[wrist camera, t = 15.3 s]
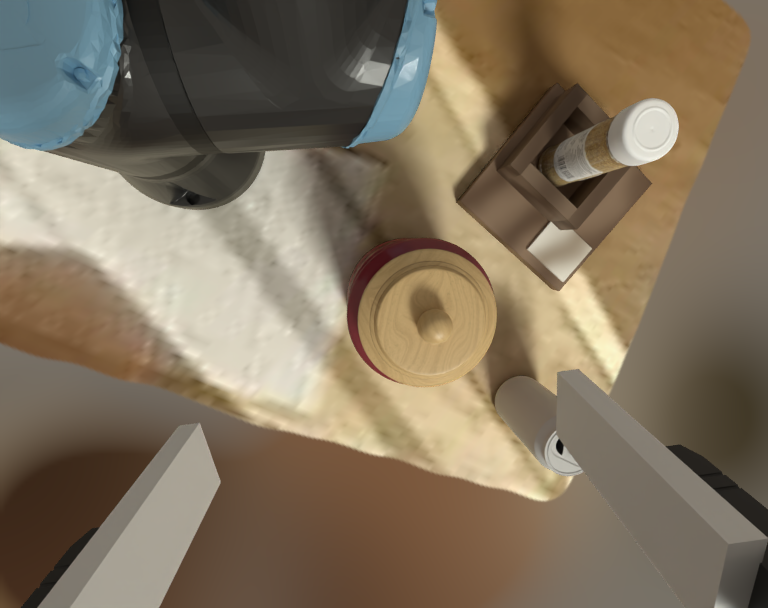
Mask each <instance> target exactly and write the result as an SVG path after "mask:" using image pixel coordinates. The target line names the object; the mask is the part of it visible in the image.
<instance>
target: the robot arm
mask: <svg viewBox="0 0 768 608" xmlns="http://www.w3.org/2000/svg"><path fill="white" fill-rule="evenodd" d="M436 3H437V0H0V138H1V139H3V140H6V141H8V142H10V143H11V144H14V145H17V146H20V147H22V148H25V149H36V150H40V151H45V152H49V153H52V154H56V155H59V156H63V157H66V158H70V159H73V160H77V161H80V162H84V163H87V164H91V165H94V166H98V167H101V168H105V169H109V170H112V171H116V172H119V173H120V174H121V175H122V177H123V178H124V179H125V180H126V181H127V182H129V183H130V184H131V185H132V186H133V187H134V188H136V189H137V190H138V191H140V192H141V193H143V194H144V195H146V196H148V197H150V198H152V199H154V200H156V201H158V202H160V203H163V204H166V205H170V206H174V207H179V208H184V209H192V210H204V209H211V208H216V207H219V206H222V205H225V204H227V203H229V202H231V201H233V200H234V199H236V198H238V197H239V196H240V195H241V194H243V193H244V192H245V191H246V190H247V189H248V188H249V187H250V185H251V184H252V183H253V181H254V180H255V178H256V177H257V175H258V173H259V171H260V169H261V166H262V163H263V160H264V155H265V151H277V150H293V149H309V148H325V147H342V148H349V147H354V146H356V145H358V144H360V143H369V142H377V141H385V140H389V139H392V138H394V137H396V136H397V135H399V134H400V133H402V132H403V131H404V130H405V129H406V128H407V126H408V125H409V124H410V122H411V121H412V119H413V117H414V115H415V113H416V111H417V109H418V106H419V104H420V101H421V98H422V95H423V92H424V89H425V85H426V82H427V77H428V73H429V69H430V64H431V59H432V54H433V48H434V42H435V35H436V24H437V20H436V18H435V13H434V10H435V7H436ZM556 435H557V436H558V438H559V439H560V440H561V442H562V443H563V444H564V446H565V447H566V449H567V450H568V451H569V453H570V454H571V455H572V457H573V458H574V459H575V461H576V462H577V463H578V465H579V466H580V467H581V469H582V470H583V471H584V472H585V474H586V475H587V477H588V478H589V479H590V481H591V482H592V483H593V484H594V486H595V488H596V489H597V490H598V492H599V493H600V494H601V496H602V497H603V498H604V500H605V501H606V502H607V504H608V505H609V506H610V508H611V509H612V510H613V512H614V513H615V514H616V516H617V517H618V518H619V520H620V521H621V522H622V524H623V525H624V526H625V528H626V529H627V531H628V532H629V533H630V535H631V536H632V537H633V538H634V540H635V541H636V543H637V544H638V545H639V547H640V548H641V549H642V551H643V552H644V553H645V555H646V556H647V557H648V559H649V560H650V561H651V563H652V564H653V566H654V567H655V568H656V569H657V571H658V572H659V574H660V575H661V576H662V577H663V579H664V580H665V582H666V583H667V584H668V586H669V587H670V588H671V590H672V591H673V592H674V594H675V595H676V596H677V598H678V599H679V600H680V602H681V603H682V605H683V606H684V607H685V608H768V509H766V508H765V507H764V506H763V505H762V504H760V503H759V502H758V501H757V500H755V499H754V498H753V497H752V496H751V495H749V494H748V493H747V492H745V491H744V490H743V489H742V488H741V489H740V488H739V487H738V485H737V484H736V483H735V482H733V481H732V480H731V479H730V478H729V477H727V476H726V475H723V474H722V472H721V471H720V470H719V469H718V468H716V467H715V466H714V465H713V464H711V463H710V462H709V461H708V460H707V459H705V458H704V457H703V456H701V455H699V454H697V453H695V452H693V451H691V450H689V449H687V448H686V447H683V446H682V445H673V446H666V447H665V446H664V445H663V444H662V443H661V442H660V441H659V440H657V439H656V438H655V437H654V436H653V435H652V434H650V433H649V432H648V431H647V430H646V429H645V428H644V427H643V426H642V425H640V424H639V423H638V422H637V421H636V420H635V419H634V418H632V416H630V415H629V414H628V413H627V412H626V411H625V410H624V409H623V408H621V407H620V406H619V405H618V404H617V403H616V402H615V401H613V399H611V398H610V397H609V396H608V395H607V394H606V393H605V392H604V391H602V390H601V389H600V388H599V387H598V386H597V385H596V384H595V383H593V382H592V381H591V380H590V379H589V378H588V377H587V376H586V375H584V374H583V373H582V372H581V371H580V370H579V369H575V370H568V371H561V372H557V422H556ZM220 483H221V482H220V479H219V476H218V473H217V470H216V468H215V465H214V462H213V459H212V456H211V453H210V451H209V448H208V445H207V442H206V439H205V437H204V434H203V431H202V429H201V426H200V423H196V424H188V425H181V426H178V428H177V429H176V430H175V431H174V433H173V434H172V435H171V437H170V438H169V439H168V440H167V442H166V443H165V445H164V446H163V447H162V448H161V449H160V451H159V452H158V453H157V455H156V456H155V457H154V458H153V460H152V461H151V462H150V464H149V465H148V466H147V467H146V469H145V470H144V471H143V473H142V474H141V475H140V476H139V478H138V479H137V480H136V482H135V483H134V484H133V485H132V487H131V488H130V489H129V491H128V492H127V493H126V494H125V496H124V497H123V498H122V500H121V501H120V502H119V503H118V505H117V506H116V507H115V509H114V510H113V511H112V512H111V514H110V515H109V516H108V518H107V519H106V520H105V521H104V523H103V524H102V525H101V527H99V528H92V529H91V530H90V531H88V532H87V533H86V534H85V535H84V536H83V537H82V538H80V539H79V540H78V541H77V542H76V543H74V544H73V545H72V546H71V547H70V548H69V550H68V551H67V552H66V553H65V554H64V555H63V557H62V558H61V559H60V560H59V562H58V563H57V564H56V565H55V567H54V570H53V571H50V573H49V574H48V575H47V577H46V578H45V579H44V580H43V581H42V582H41V584H40V587H39V588H37V589H36V590H35V591H34V592H33V593H32V595H31V596H30V597H29V598H28V600H27V601H26V602H25V603H24V604H23V606H22V607H21V608H159V606H160V604H161V602H162V600H163V598H164V596H165V594H166V592H167V590H168V588H169V586H170V584H171V582H172V580H173V578H174V576H175V574H176V572H177V570H178V568H179V566H180V564H181V562H182V560H183V557H184V556H185V554H186V552H187V549H188V548H189V546H190V543H191V541H192V539H193V537H194V535H195V533H196V531H197V529H198V527H199V525H200V523H201V521H202V519H203V517H204V515H205V513H206V511H207V509H208V507H209V505H210V503H211V501H212V499H213V497H214V495H215V493H216V491H217V489H218V487H219V485H220Z"/></svg>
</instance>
